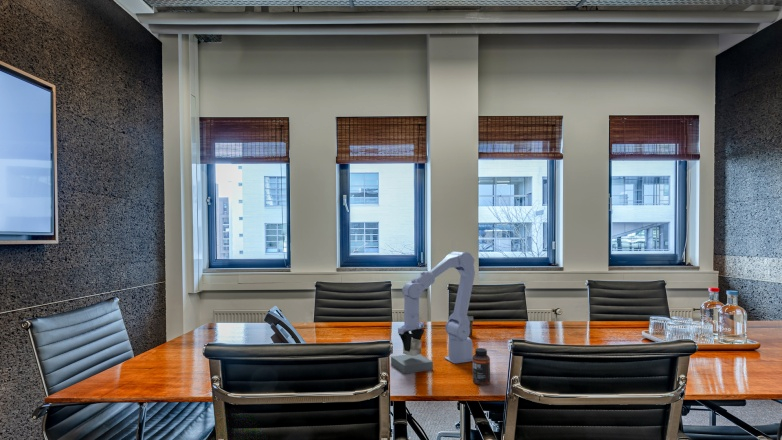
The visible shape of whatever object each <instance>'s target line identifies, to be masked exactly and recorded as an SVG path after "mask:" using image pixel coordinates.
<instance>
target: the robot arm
mask: <svg viewBox="0 0 782 440" xmlns="http://www.w3.org/2000/svg"><path fill="white" fill-rule="evenodd" d="M474 264H475V258H474V257H473V255H472V254H471V253H470V252H467V251H465V252H464V251H463V252H462V251H456V250H454V251H451V252H450V253H449V254H447V255H445V257H444V258H443V259H442V260H441V261H440V262H439V263H438V264H436V265H435V266H434V267H433V268H431V270H425V271H424V270H422V271H421V272H420V274H419V275H418V276H417V277H415V278H412V279H411V281H410V282H406V283H404V285H403V287H402V289H401V293H402V295H403V297H404V300H403V301H404V304H403V305H404V310H403V311H404V317H403V318H404V319H403V320H404V321H403V322H404V323H403V325H402V326H401V327H398V328H397V334H398V335H399V338H400V339H401V341H402V347H403V346H404V350H405V351H408V352H409V351H410V347H411V339H412V338H413V339H418V340H421V339H422V337H423V335H424V333H425V329H424V328H425V322H423V321H420V297H421V296H422V295H423V292H424V291H425V290H427V289H428V288H429V287H431V286H432V285H433V284H434V283H435V280H436V278H437V277H438V276H441V274H443V273H444V272H445V271H447V270H448V269H450V268H454V269H455V270H456V271H457V272H458V273H459V275H460V279H459V282H458V289H457V293H456V298H455V304H454V307H453V312H452V313H451V314H450V315H449V317H448V320H447V322H446V323H445V332H446V333H447V336H448V356H444V360H447V361H449V362H450V363H453V364H454V365H456V364H461V363H462V364H463V363H468V362H469V363H470V362H473V356H474V344H473V341H472V339H471V338H470V336H469V334H470V327H469V324H470V321H469V319H468V317H467V315H468V311H469V306H470V301H471V297H472V296H471V295H472V291H473V286H474V281H475V276H476V275H475V274H476V271H475V265H474ZM458 321H459V322H458ZM421 341H422V340H421Z"/></svg>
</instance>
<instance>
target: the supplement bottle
mask: <svg viewBox="0 0 782 440" xmlns="http://www.w3.org/2000/svg"><path fill="white" fill-rule="evenodd" d="M474 352H475V354H473V361H472V382H473V383H474V384H476V385H479V386H485V385H489V384H490V383H491V359H490V358H491V357H490V356H489V355H488V349H487V348H483V347H477V348H475V351H474Z"/></svg>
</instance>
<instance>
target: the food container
mask: <svg viewBox="0 0 782 440" xmlns="http://www.w3.org/2000/svg"><path fill="white" fill-rule="evenodd" d="M467 317H468V319H469V321H470V324H469V327H470V334H469V336H468V337H472V336H473V326H474V316H470V315H468V314H467ZM458 322H459V321H458Z"/></svg>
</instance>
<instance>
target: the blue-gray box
mask: <svg viewBox="0 0 782 440" xmlns="http://www.w3.org/2000/svg"><path fill="white" fill-rule="evenodd" d="M390 364H391V366H392V367H394V368H396V369H397V370H398V371H400V372H401V373H403V374H404V375H406V374H407V375H408V374H412V373H413V374H414V373H419V372H427V371H432V370H434V361H433V360H431V359H429V358H427V356H424V355H422V353H420V354H418V355H415V356H411V355H407V354H401V355H400V354H399V355H392V356H390Z"/></svg>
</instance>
